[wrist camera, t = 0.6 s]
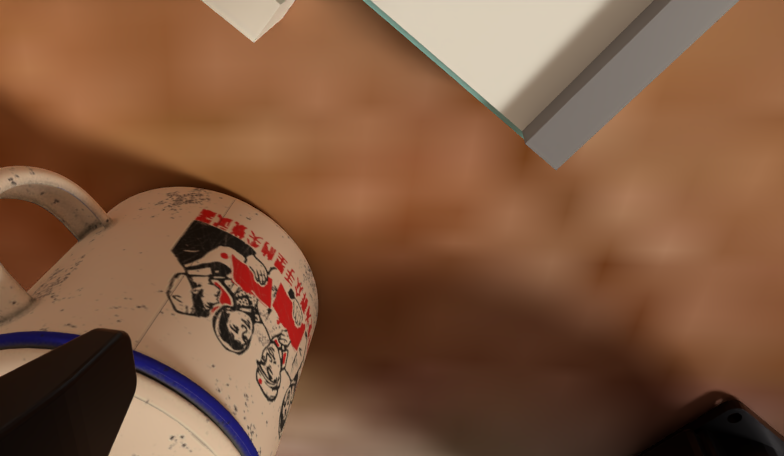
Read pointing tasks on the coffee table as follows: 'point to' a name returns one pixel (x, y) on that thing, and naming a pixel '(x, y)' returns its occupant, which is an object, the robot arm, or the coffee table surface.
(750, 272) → the coffee table surface
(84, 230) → the white printed mug
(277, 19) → the cream flat base plank
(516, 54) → the cabinet
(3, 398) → the robot arm
